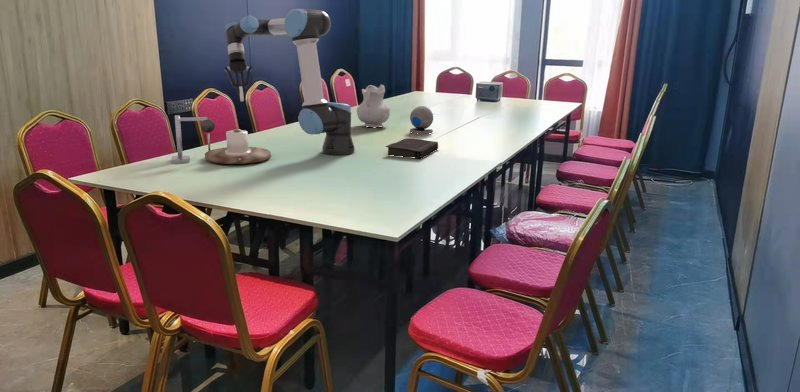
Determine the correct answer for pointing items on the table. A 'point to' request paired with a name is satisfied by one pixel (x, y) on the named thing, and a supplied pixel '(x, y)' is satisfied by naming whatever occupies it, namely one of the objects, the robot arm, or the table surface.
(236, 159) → the turntable
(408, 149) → the diary
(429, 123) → the webcam
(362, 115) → the ceramic pitcher
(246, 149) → the canister
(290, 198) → the table surface
